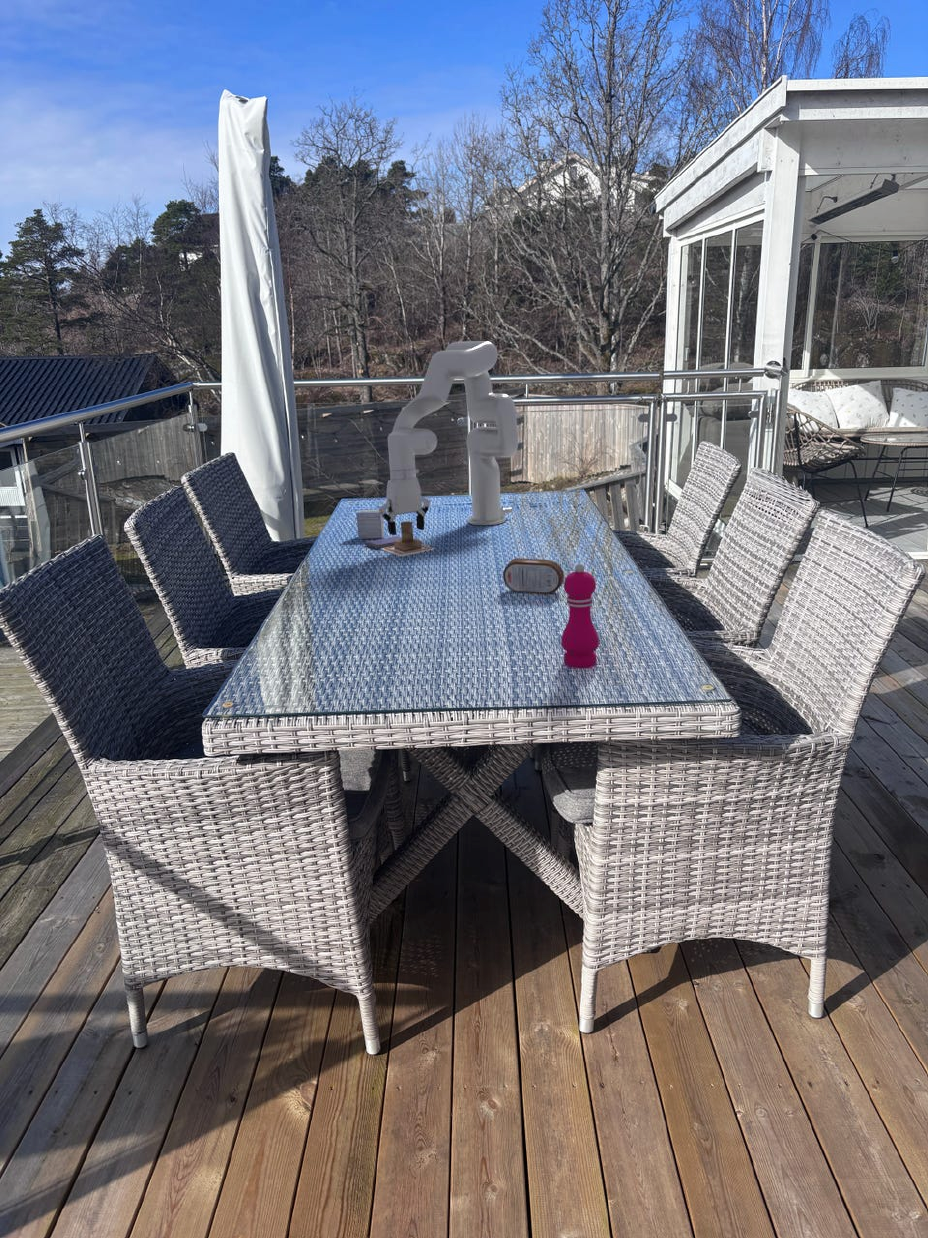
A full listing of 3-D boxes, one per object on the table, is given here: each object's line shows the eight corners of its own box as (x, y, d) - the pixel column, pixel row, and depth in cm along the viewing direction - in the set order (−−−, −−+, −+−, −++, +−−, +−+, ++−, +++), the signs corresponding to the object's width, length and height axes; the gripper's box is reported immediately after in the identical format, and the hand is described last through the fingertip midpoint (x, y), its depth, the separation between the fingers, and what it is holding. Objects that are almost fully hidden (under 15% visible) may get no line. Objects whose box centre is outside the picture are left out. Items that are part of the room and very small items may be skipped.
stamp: (411, 545, 273) (409, 519, 271) (421, 548, 268) (420, 522, 266) (394, 548, 270) (392, 522, 267) (404, 551, 265) (402, 525, 263)
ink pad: (398, 539, 283) (398, 535, 283) (411, 543, 277) (410, 539, 277) (364, 545, 277) (364, 541, 277) (377, 549, 271) (376, 545, 270)
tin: (564, 592, 220) (564, 559, 217) (561, 596, 217) (561, 562, 214) (505, 589, 225) (504, 556, 222) (502, 592, 222) (501, 560, 219)
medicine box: (385, 535, 289) (383, 509, 286) (382, 538, 285) (380, 512, 282) (361, 536, 290) (358, 509, 287) (358, 539, 286) (356, 512, 283)
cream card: (414, 542, 277) (414, 541, 277) (435, 549, 268) (435, 547, 267) (380, 549, 271) (380, 547, 271) (400, 556, 261) (400, 554, 261)
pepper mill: (558, 657, 177) (557, 560, 171) (594, 655, 177) (594, 557, 171) (565, 671, 170) (564, 569, 164) (602, 668, 171) (603, 567, 164)
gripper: (421, 469, 270) (424, 525, 275) (370, 477, 261) (375, 534, 266) (434, 472, 264) (437, 529, 269) (383, 479, 255) (387, 538, 260)
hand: (406, 531), depth 267 cm, fingers open, 9 cm apart
